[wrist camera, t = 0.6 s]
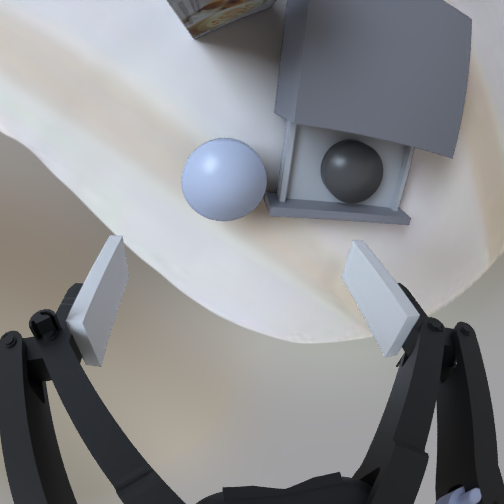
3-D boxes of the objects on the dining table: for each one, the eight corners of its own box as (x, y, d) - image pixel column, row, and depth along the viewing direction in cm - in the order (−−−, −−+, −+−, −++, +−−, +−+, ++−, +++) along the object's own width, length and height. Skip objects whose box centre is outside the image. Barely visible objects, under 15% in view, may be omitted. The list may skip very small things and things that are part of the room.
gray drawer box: (289, -25, 20) (313, -53, 13) (426, 22, 22) (471, 19, 15) (274, 112, 29) (293, 123, 22) (410, 138, 31) (452, 158, 24)
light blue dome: (184, 136, 25) (182, 140, 24) (268, 140, 27) (271, 144, 25) (183, 213, 30) (181, 220, 28) (259, 215, 31) (261, 222, 30)
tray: (281, 53, 25) (291, 49, 21) (420, 90, 27) (441, 94, 24) (264, 200, 34) (270, 216, 31) (392, 210, 37) (408, 225, 33)
